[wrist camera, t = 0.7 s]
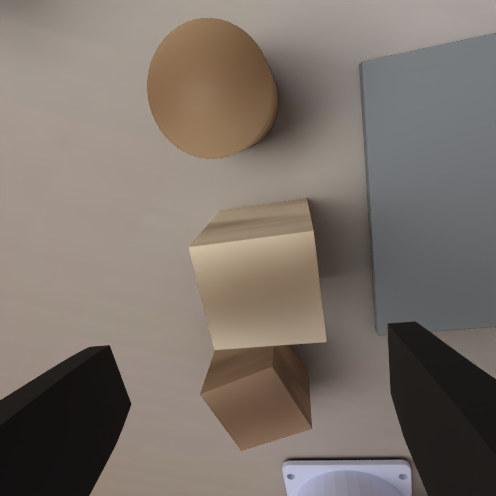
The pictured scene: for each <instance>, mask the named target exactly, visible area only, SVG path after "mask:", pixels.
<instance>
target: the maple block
mask: <svg viewBox="0 0 496 496" xmlns="http://www.w3.org/2000/svg"><path fill="white" fill-rule="evenodd" d="M189 251H190V255H191V259H192V263H193V267H194V271H195V275H196V279H197V283H198V287H199V291H200V295H201V299H202V303H203V307H204V311H205V315H206V319H207V323H208V327H209V331H210V335H211V339H212V343H213V347H214V350H223V349H237V348H251V347H265V346H278V345H292V344H306V343H320V342H327V341H326V332H325V324H324V315H323V307H322V298H321V290H320V281H319V273H318V264H317V256H316V247H315V239H314V230H313V226H312V221H311V216H310V211H309V206H308V201H307V198H303V199H297V200H290V201H283V202H276V203H270V204H263V205H256V206H250V207H243V208H236V209H229V210H223V211H219V213H218V214H217V215H216V216H215V217H214V218H213V220H212V221H211V222H210V223H209V224H208V225H207V227H206V228H205V229H204V230H203V231H202V232H201V233H200V235H199V236H198V237H197V238H196V239H195V240H194V242H193V243H192V244H191V245H190V246H189Z"/></svg>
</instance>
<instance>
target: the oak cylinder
mask: <svg viewBox="0 0 496 496" xmlns="http://www.w3.org/2000/svg"><path fill="white" fill-rule="evenodd" d="M147 92H148V100H149V105H150V109H151V112H152V115H153V117H154V119H155V122H156V123H157V125H158V127H159V129H160V130H161V131H162V133H163V134H164V135H165V137H166V138H167V139H168V140H169V141H170V142H171V143H172V144H174V145H175V146H176V147H177V148H179V149H180V150H182V151H184V152H186V153H188V154H190V155H193V156H196V157H200V158H206V159H217V158H223V157H227V156H230V155H233V154H235V153H237V152H240V151H242V150H244V149H246V148H248V147H250V146H252V145H254V144H256V143H258V142H259V141H260V140H262V139H263V138H264V137H265V136H266V135H267V134H268V132H269V131H270V129H271V128H272V126H273V124H274V122H275V120H276V116H277V112H278V105H279V99H278V91H277V87H276V84H275V81H274V78H273V76H272V73H271V71H270V68H269V66H268V63H267V61H266V59H265V57H264V55H263V53H262V51H261V49H260V48H259V46H258V45H257V43H256V42H255V41H254V40H253V39H252V38H251V37H250V36H249V35H248V34H247V33H246V32H245V31H244V30H242V29H241V28H239V27H238V26H236V25H234V24H232V23H230V22H227V21H224V20H221V19H214V18H201V19H196V20H192V21H189V22H186V23H184V24H182V25H180V26H178V27H177V28H176V29H174V30H173V31H171V32H170V33H169V34H168V35H167V36H166V37H165V38H164V40H163V41H162V42H161V44H160V45H159V46H158V48H157V50H156V52H155V54H154V56H153V58H152V61H151V64H150V68H149V73H148V80H147Z"/></svg>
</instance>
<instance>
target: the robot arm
mask: <svg viewBox="0 0 496 496" xmlns="http://www.w3.org/2000/svg"><path fill="white" fill-rule="evenodd" d="M387 325H388V346H389V367H390V389H391V396H392V399H393V403H394V406H395V410H396V413H397V416H398V420H399V423H400V426H401V430H402V433H403V436H404V439H405V441H406V444H407V446H408V449H409V451H410V453H411V456H412V458H413V461H414V463H415V466H416V468H417V470H418V473H419V475H420V478H421V480H422V482H423V485H424V487H425V489H426V492H427V494H428V496H496V379H495V378H493V377H492V376H490V375H489V374H487V373H486V372H485V371H483V370H482V369H480V368H479V367H477V366H476V365H474V364H473V363H472V362H470V361H469V360H468V359H466V358H465V357H463V356H462V355H461V354H459V353H458V352H456V351H455V350H454V349H452V348H451V347H450V346H448V345H447V344H446V343H444V342H443V341H441V340H440V339H439V338H437V337H436V336H435V335H433V334H432V333H431V332H429V331H428V330H427V329H425V328H424V327H423V326H421V325H420V324H418V323H417V322H416V321H413V322H400V323H387ZM130 407H131V402H130V399H129V397H128V394H127V391H126V388H125V386H124V383H123V380H122V378H121V375H120V372H119V369H118V367H117V364H116V361H115V359H114V356H113V353H112V350H111V348H110V345H107V346H94V347H89V348H87V349H84V350H82V351H80V352H79V353H77V354H75V355H73V356H71V357H70V358H68V359H66V360H65V361H63V362H61V363H60V364H58V365H56V366H55V367H53V368H51V369H50V370H48V371H46V372H45V373H43V374H42V375H40V376H38V377H37V378H35V379H34V380H32V381H30V382H29V383H27V384H26V385H24V386H22V387H21V388H19V389H18V390H16V391H14V392H13V393H11V394H10V395H8V396H6V397H5V398H3V399H2V400H0V496H89V495H90V493H91V491H92V490H93V488H94V486H95V484H96V482H97V480H98V478H99V476H100V474H101V473H102V471H103V469H104V467H105V465H106V463H107V461H108V459H109V457H110V455H111V453H112V451H113V449H114V447H115V445H116V443H117V441H118V438H119V436H120V433H121V431H122V429H123V426H124V423H125V421H126V418H127V415H128V412H129V409H130ZM282 471H283V476H284V481H285V486H286V491H287V496H412V479H411V468H410V465H409V463H408V462H407V461H405V460H313V461H286V462H284V463H283V469H282Z"/></svg>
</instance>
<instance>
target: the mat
mask: <svg viewBox="0 0 496 496" xmlns="http://www.w3.org/2000/svg"><path fill="white" fill-rule="evenodd" d="M359 68H360V84H361V101H362V117H363V134H364V150H365V166H366V183H367V199H368V216H369V232H370V248H371V265H372V281H373V298H374V314H375V329H376V332H377V334H378V335H388V325H387V323H400V322H413V321H416V322H417V323H418V324H420V325H421V326H423V327H424V328H425V329H427V330H428V331H429V332H432V331H446V330H459V329H473V328H487V327H496V33H494V34H489V35H484V36H480V37H475V38H470V39H466V40H461V41H456V42H452V43H447V44H442V45H438V46H433V47H428V48H424V49H419V50H414V51H410V52H405V53H401V54H396V55H391V56H387V57H382V58H377V59H373V60H368V61H363V62H361V63H360V64H359Z"/></svg>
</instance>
